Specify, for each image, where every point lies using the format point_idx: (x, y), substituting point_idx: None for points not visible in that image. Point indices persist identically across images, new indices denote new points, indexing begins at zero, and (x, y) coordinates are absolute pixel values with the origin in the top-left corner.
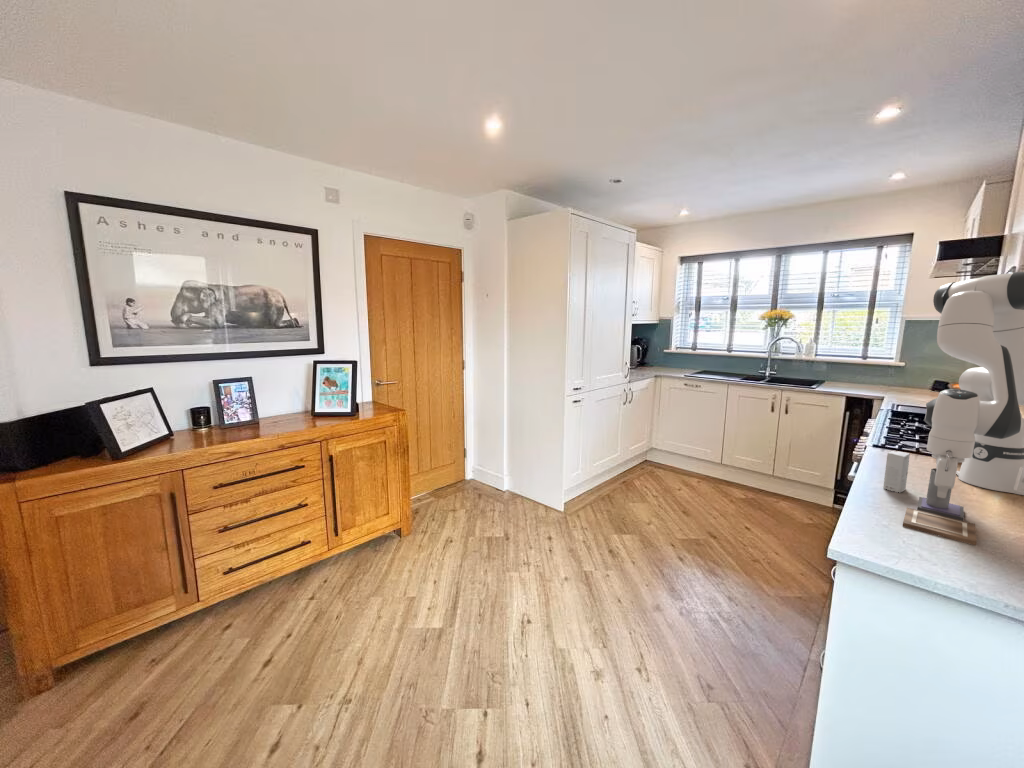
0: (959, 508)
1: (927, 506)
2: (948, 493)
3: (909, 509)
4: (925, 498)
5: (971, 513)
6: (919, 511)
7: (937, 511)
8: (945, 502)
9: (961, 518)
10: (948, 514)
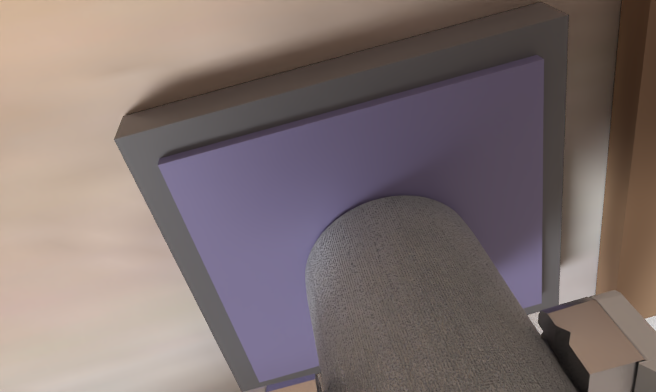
0: (283, 136)
1: (511, 281)
2: (515, 337)
3: (650, 305)
4: (270, 364)
5: (121, 37)
6: (645, 263)
7: (556, 203)
8: (473, 248)
9: (562, 30)
10: (560, 131)
